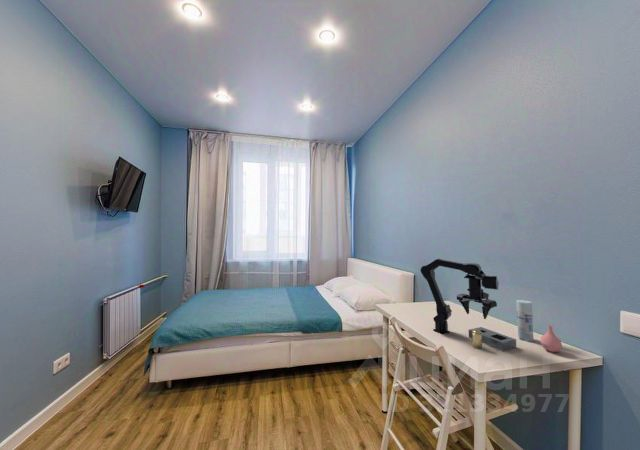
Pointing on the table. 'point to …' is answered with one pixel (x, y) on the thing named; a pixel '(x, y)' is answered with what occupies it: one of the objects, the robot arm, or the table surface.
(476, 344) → the brass fitting
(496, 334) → the manifold plate
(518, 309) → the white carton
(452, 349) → the table surface
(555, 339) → the pink teardrop bulb
